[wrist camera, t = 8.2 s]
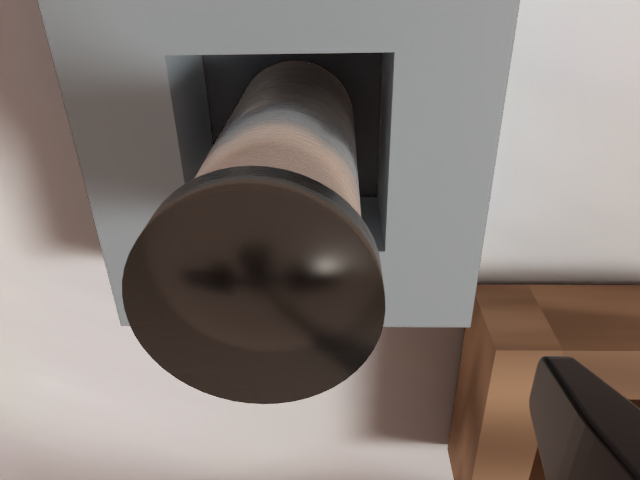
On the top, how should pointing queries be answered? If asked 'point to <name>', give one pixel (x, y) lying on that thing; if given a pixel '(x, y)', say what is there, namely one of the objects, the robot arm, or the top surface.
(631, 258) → the top surface
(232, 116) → the lock pin
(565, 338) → the pin mount
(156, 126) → the socket block
